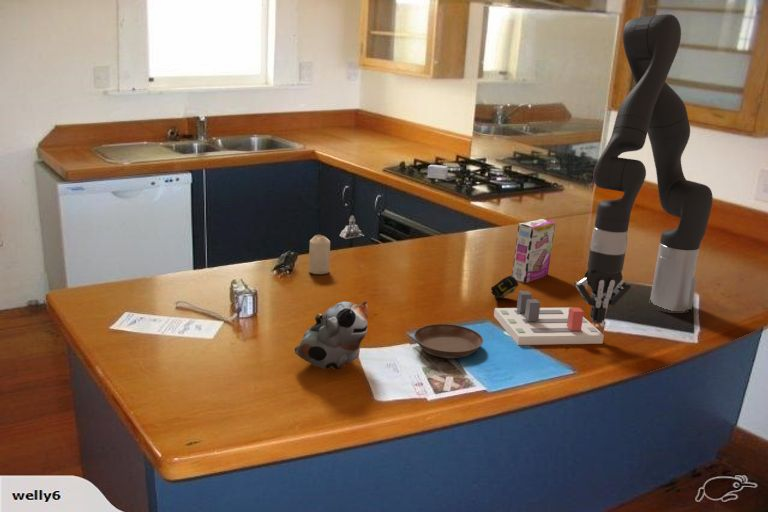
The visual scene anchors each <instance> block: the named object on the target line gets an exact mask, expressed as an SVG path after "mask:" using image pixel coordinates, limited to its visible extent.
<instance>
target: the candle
mask: <svg viewBox="0 0 768 512" xmlns="http://www.w3.org/2000/svg"><path fill="white" fill-rule="evenodd" d="M308 253H309V254H308V255H309V256H308V259H309V260H308V272H309V273H310V274H313V275H325V274H328V273H329V272H330V261H331V260H330V259H331V258H330V257H331V255H330V254H331V240H329V239H328V238H327V237H326V236H325V235H321V234H315V235H314V236H313V237H312V238H311V239H310V240H309V252H308Z"/></svg>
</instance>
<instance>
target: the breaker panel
mask: <svg viewBox="0 0 768 512" xmlns="http://www.w3.org/2000/svg"><path fill="white" fill-rule="evenodd" d="M517 294H518V295H517V302H516V307H495V308H494V311H493V317H494V318H495V319H496V320H497V321H498V323H499V324H500V325H501V327H502V328H503V330H504V331H506V332H507V334H508V335H509V337H510V338H511V339H513V341H514V343H516V345H518V346H526V345H527V346H529V345H530V346H533V345H534V346H536V345H537V346H539V345H585V344H586V345H589V344H591V345H592V344H594V345H595V344H596V345H597V344H598V345H599V344H604V337H605V335H604V334H603V333H602V332H601V331H600V330H599V329H598V328H596V327H595V325H593V324H592V322H590V321H589V320H588V319H586V318H585V316H583V320H582V327H581V330H570V329H569V328H568V327H567V321H568V314H569V308H570V307H541V302H540V300H538V299H537V298H536V299H535V298H534V299H533V298H532V296H533V294H532V293H531V292H530V291H529V290H519V291H518V293H517Z"/></svg>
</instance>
